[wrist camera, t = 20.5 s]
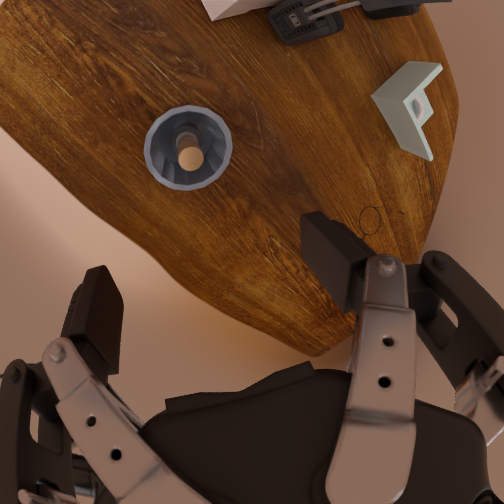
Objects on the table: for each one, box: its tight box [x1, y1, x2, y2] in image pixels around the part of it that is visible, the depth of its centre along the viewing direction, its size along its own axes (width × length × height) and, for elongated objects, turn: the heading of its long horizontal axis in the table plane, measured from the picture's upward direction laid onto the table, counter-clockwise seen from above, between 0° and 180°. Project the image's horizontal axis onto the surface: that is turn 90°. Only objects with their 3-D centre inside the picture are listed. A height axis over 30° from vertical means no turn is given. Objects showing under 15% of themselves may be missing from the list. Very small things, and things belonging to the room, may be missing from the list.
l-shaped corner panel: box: [371, 61, 443, 161], centre depth 33 cm, size 12×12×8 cm
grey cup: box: [144, 103, 233, 191], centre depth 28 cm, size 8×8×10 cm
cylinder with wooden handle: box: [170, 122, 204, 171], centre depth 26 cm, size 4×4×14 cm
